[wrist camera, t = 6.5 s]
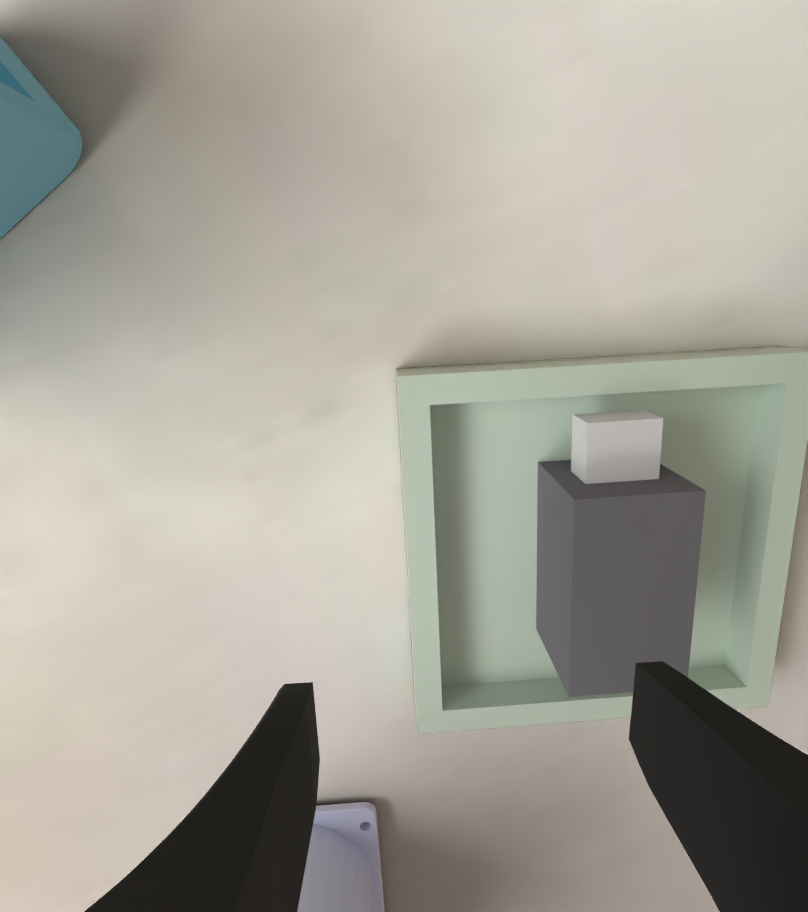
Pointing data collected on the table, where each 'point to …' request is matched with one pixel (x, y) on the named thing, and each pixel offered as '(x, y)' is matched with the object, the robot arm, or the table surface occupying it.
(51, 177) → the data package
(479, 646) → the tray
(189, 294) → the table surface
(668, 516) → the plug
